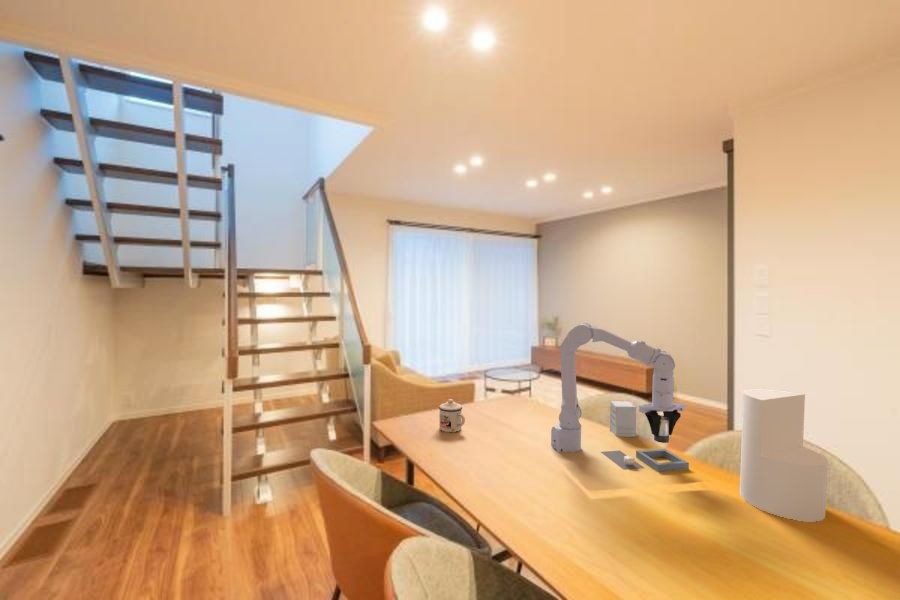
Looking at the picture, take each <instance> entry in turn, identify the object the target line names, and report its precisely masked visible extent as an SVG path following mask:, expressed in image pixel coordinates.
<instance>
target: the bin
mask: <svg viewBox="0 0 900 600" xmlns="http://www.w3.org/2000/svg"><path fill="white" fill-rule="evenodd" d="M635 457H636V458H637V459H638V460H640V461H641V462H643V463H644V464H646V465H647V466H648V467H650V468H651V469H653V470H654V471H656V472H668V471H669V472H672V471H673V472H674V471H683V470H685V471H686V470H689V469H690V468H689V467H690V462H689V461H687V460H685V459H684V458H681V457H679V456H678V455H677V454H674V453H673V452H671V451H669V450H668V449H666V448H657V449H644V450H643V449H642V450H635ZM654 458H665V459H667V460H668V461H667V462H658V461H656V459H654Z"/></svg>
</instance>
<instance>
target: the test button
mask: <svg viewBox="0 0 900 600" xmlns="http://www.w3.org/2000/svg"><path fill="white" fill-rule="evenodd" d="M635 461H636V458H635V457H634V456H631V455H627V456H624V463H626V464H629V465H634V464H635Z"/></svg>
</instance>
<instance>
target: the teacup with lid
mask: <svg viewBox="0 0 900 600" xmlns="http://www.w3.org/2000/svg"><path fill="white" fill-rule="evenodd" d="M438 408H439V430H440V431H441V430H442V432H443V431H445V432H444V433H449V432H452V433H457V432H456V431H458V432H460V431H461V430H462V427H463V426H464V425H465V422H466V417H465V416H464V414H463V413H462V411H463V407H462V405H461V404H460V403H457V402H455V401H454V399H452V398H449V399H448V400H447V401H446V402H444V403H441V404H440V405H439V407H438ZM459 430H460V431H459Z"/></svg>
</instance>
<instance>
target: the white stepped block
mask: <svg viewBox="0 0 900 600" xmlns="http://www.w3.org/2000/svg"><path fill="white" fill-rule="evenodd" d="M805 400H806V394H805V393H800V392H795V391H789V390H782V389H781V390H780V389H774V388H773V389H770V388H749V389H745V390H743V391H742V414H741V416H742V417H741V418H742V420H741V446H740V447H741V448H740V451H741V452H740V477H739V478H740V479H739V494H740V497H741V498H742V499H743V500H744V501H745V502H746V501H747V502H746V503H747V504H749V505H750V504H751V505H750V506H752V505H753V507H754V506H755V508H756V507H757V508H756V509H758V508H759V509H758V510H760V509H761V510H760V511H762V510H764V511H766V512H765V513H767V512H768V513H767V514H769V513H771V514H770V515H772V514H774V515H773V516H775V515H777V516H776V517H778V516H780V517H779V518H781V517H784V518H783V519H785V518H789V519H793V520H792V521H794V520H798V521H797V522H801V521H803V523H817V522H821V521H823V520H825V519H826V512H827V510H826V508H827V490H828V489H827V483H828V482H827V481H828V462H829V460H828V459H827V457H826V456H824V455H823V454H821V453H820V452H818V451H815V450H814V449H811V448H808V447H805V446H804V429H805V427H804V426H805V425H804V423H805ZM764 511H763V512H764ZM789 519H788V520H789ZM816 521H817V522H816Z"/></svg>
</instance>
